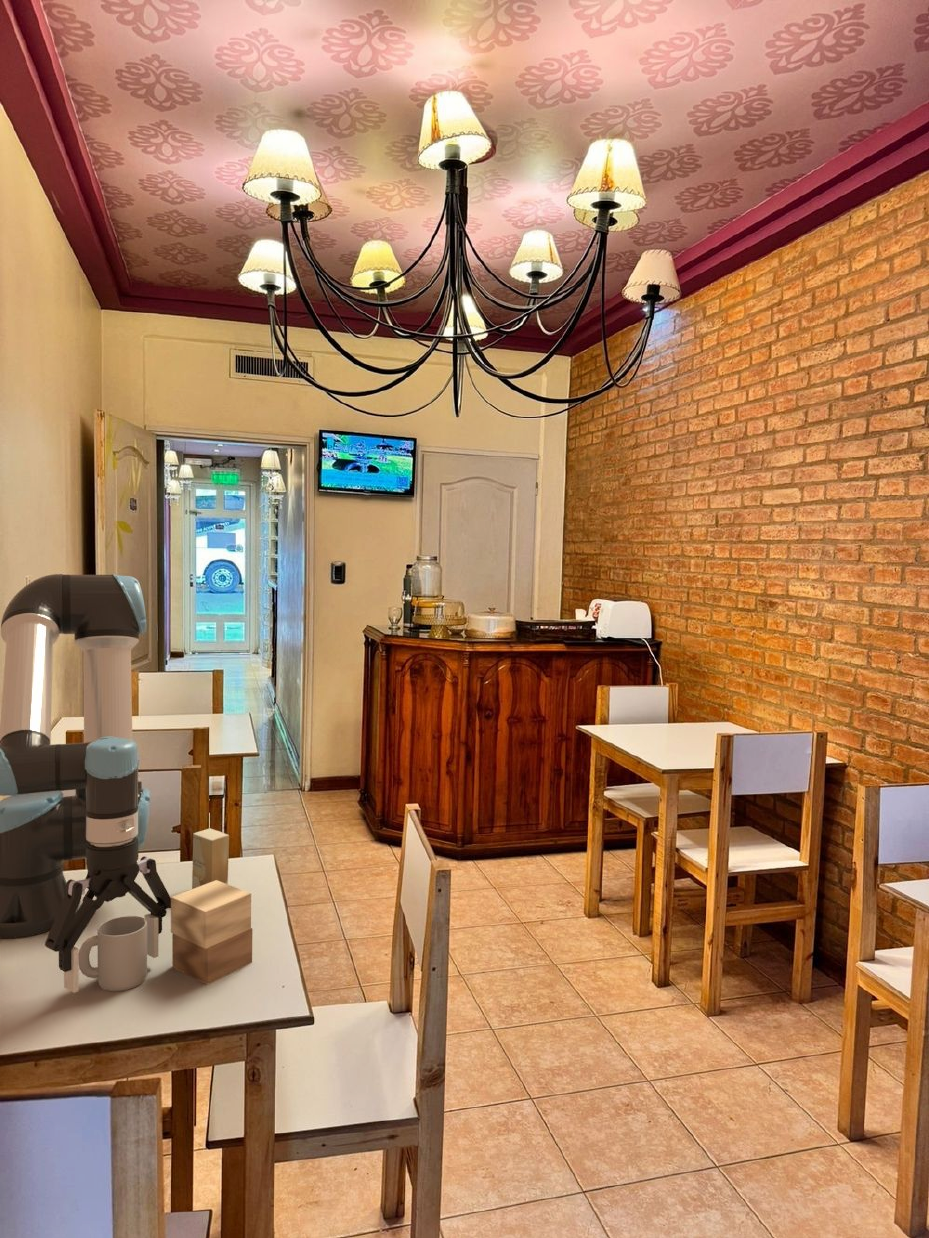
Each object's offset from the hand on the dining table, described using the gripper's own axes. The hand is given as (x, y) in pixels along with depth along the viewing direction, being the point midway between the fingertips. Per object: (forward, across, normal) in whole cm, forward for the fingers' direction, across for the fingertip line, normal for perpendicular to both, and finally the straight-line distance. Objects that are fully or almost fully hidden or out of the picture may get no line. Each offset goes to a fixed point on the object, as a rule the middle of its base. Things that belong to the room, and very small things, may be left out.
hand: (113, 971), depth 127 cm
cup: (+2, 0, 0) cm, 2 cm away
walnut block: (+2, +13, -8) cm, 15 cm away
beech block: (-4, +13, -8) cm, 15 cm away
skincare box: (+2, +31, +16) cm, 35 cm away
